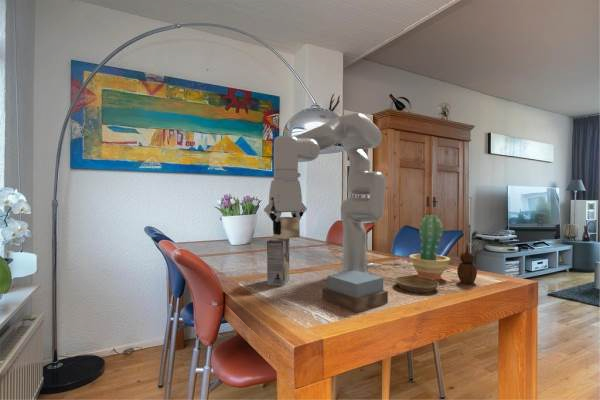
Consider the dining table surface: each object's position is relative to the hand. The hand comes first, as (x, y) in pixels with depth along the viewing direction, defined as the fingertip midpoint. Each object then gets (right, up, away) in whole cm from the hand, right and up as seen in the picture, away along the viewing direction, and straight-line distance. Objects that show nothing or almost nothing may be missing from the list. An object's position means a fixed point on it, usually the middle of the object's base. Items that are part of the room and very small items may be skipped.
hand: (286, 232), depth 97 cm
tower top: (+21, -17, -2) cm, 27 cm away
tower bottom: (+21, -21, -2) cm, 30 cm away
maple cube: (0, -1, 0) cm, 1 cm away
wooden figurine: (+67, -21, +19) cm, 73 cm away
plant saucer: (+45, -21, +12) cm, 51 cm away
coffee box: (-4, -21, +18) cm, 28 cm away
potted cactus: (+56, -21, +27) cm, 66 cm away
